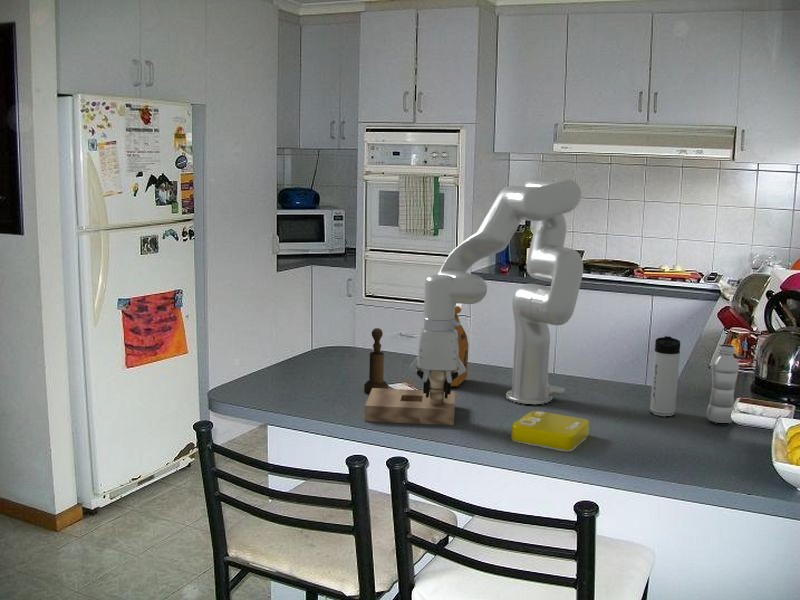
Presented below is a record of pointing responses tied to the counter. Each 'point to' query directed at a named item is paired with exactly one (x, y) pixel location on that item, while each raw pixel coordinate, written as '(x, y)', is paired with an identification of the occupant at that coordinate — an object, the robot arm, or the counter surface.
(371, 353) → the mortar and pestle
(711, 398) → the plastic bottle
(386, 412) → the board
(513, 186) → the robot arm
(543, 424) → the element tile
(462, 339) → the coffee package
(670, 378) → the travel mug
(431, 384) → the peg
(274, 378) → the counter surface
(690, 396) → the counter surface
